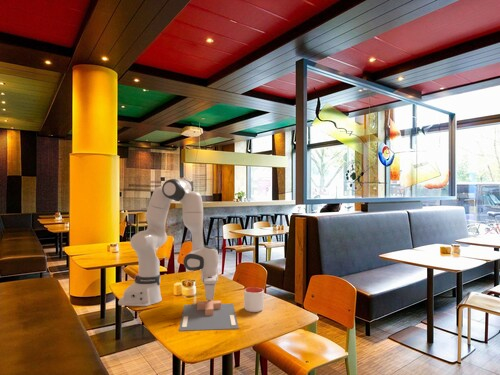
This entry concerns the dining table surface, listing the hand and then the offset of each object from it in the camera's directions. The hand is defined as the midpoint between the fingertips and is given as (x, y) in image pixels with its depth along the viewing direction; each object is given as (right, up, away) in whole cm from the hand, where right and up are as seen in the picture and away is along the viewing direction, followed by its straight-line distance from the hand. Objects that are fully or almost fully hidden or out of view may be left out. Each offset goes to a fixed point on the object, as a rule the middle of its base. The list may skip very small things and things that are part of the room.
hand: (209, 302), depth 169 cm
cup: (+24, -2, -4) cm, 24 cm away
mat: (+2, -1, -14) cm, 14 cm away
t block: (+1, -1, -7) cm, 8 cm away
